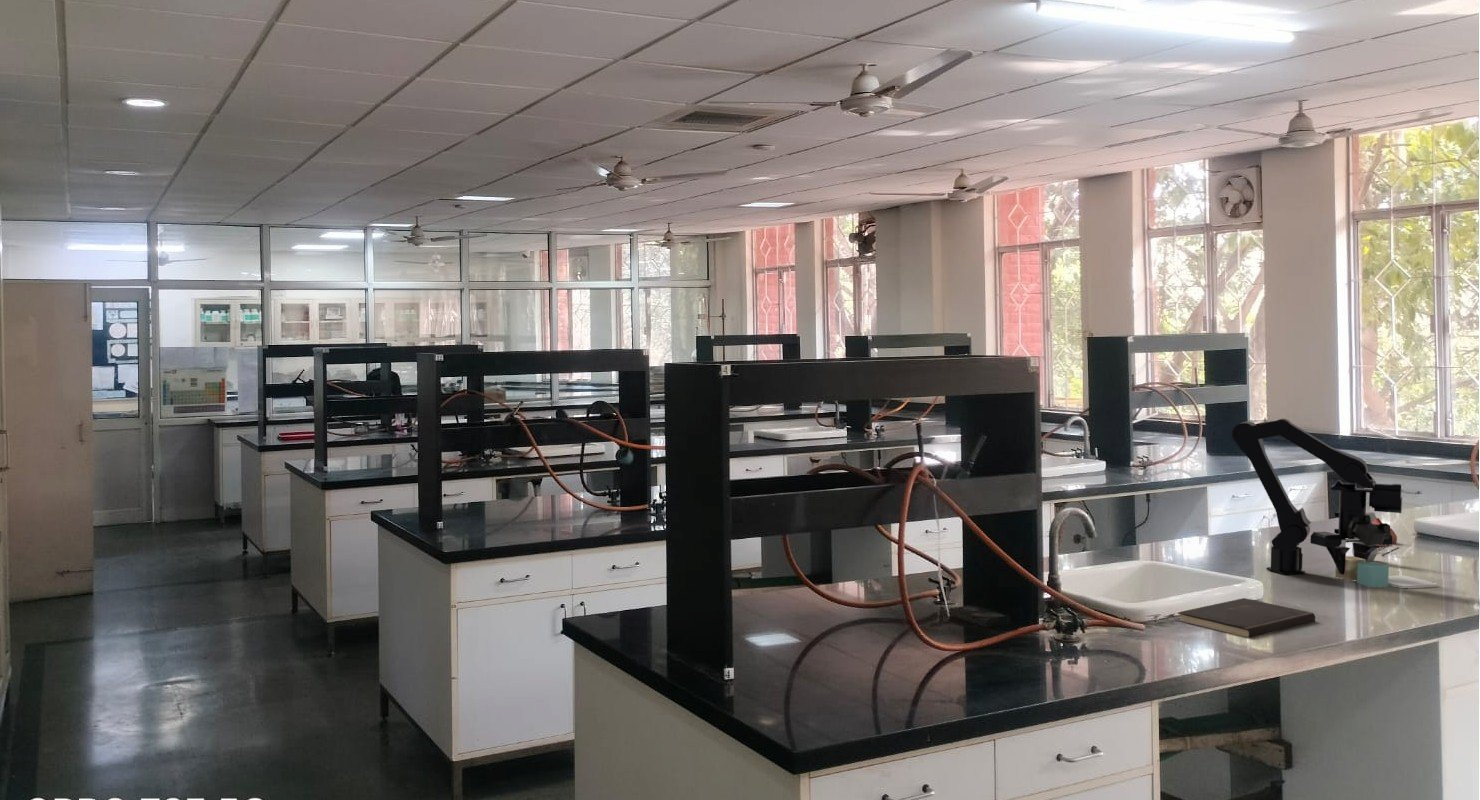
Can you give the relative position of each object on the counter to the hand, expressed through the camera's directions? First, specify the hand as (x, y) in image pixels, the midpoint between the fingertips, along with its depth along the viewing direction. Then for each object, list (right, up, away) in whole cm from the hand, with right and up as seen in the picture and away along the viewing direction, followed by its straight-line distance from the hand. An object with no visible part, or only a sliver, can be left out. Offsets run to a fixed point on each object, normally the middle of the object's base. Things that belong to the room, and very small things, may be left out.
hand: (1350, 573), depth 270 cm
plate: (+10, -2, -5) cm, 11 cm away
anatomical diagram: (+28, 0, +40) cm, 49 cm away
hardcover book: (-43, -4, -40) cm, 59 cm away
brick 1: (0, -1, 0) cm, 1 cm away
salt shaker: (+16, 0, +22) cm, 27 cm away
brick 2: (+2, -2, -7) cm, 7 cm away
